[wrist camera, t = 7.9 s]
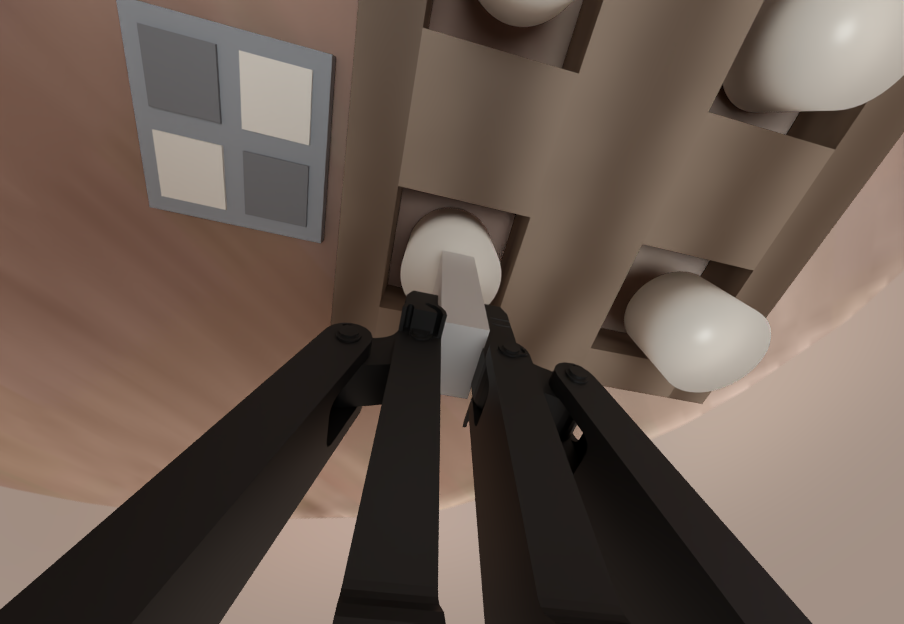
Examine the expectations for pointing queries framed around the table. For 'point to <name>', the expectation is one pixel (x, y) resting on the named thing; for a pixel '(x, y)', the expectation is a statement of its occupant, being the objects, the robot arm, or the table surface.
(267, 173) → the card
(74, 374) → the table surface
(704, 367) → the button
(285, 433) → the robot arm
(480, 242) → the button
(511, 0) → the button
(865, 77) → the button
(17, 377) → the table surface
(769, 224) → the board
